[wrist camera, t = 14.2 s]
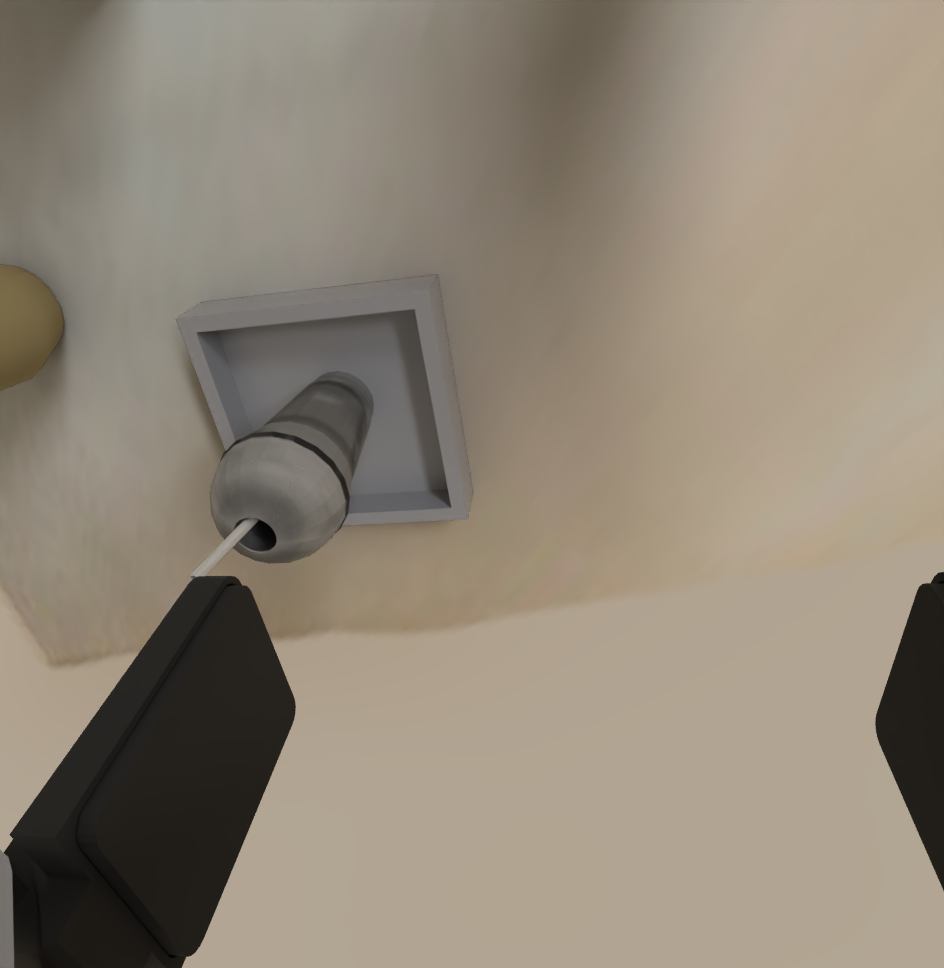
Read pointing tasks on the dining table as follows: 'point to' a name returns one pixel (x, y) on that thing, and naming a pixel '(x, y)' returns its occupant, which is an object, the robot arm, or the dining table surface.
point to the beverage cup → (292, 475)
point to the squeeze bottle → (26, 325)
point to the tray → (364, 354)
